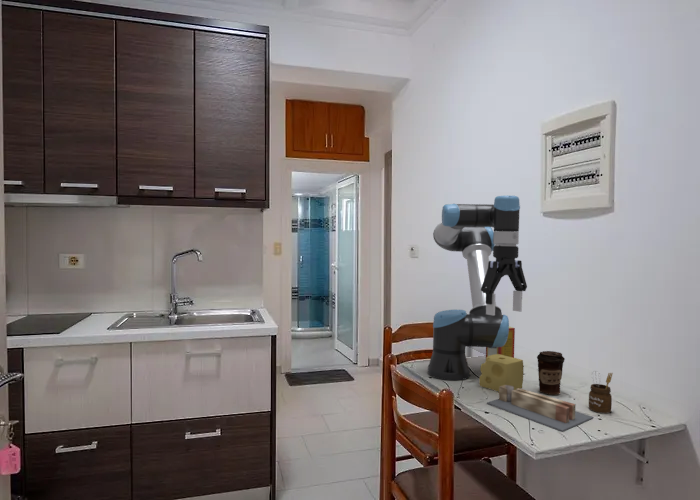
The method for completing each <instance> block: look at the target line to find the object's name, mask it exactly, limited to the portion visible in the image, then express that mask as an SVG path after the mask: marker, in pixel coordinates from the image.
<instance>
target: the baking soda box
mask: <svg viewBox="0 0 700 500" xmlns="http://www.w3.org/2000/svg"><path fill="white" fill-rule="evenodd" d="M515 333H516V329H515V327H513V326H510V325H509V332H508V338H507V341H506V343H505V345H504V346H502V347H493V348H491V347H485V358H486V357H488V356H490V355H494V354H501V355H504V356H508V357H513V358H515Z"/></svg>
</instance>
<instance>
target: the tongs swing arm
mask: <svg viewBox="0 0 700 500" xmlns="http://www.w3.org/2000/svg"><path fill="white" fill-rule="evenodd" d="M516 390H517V391H520V392H523V393H526V394H529V395H532V396H536V397H539V398H542V399H545V400H548V401H551V402H554V403H557V404H561V405H564V406H567V407H570V409H569V419H571V420H573V419H575V411H576V403H572V402H570V401H566V400H561V399H559V398H555V397H551V396H548V395H546V394H545V395H544V394H540V393H538V392H534V391H529V390H526V389H523V388H521V389H520V388H518V389H516Z"/></svg>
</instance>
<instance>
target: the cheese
mask: <svg viewBox="0 0 700 500" xmlns="http://www.w3.org/2000/svg"><path fill="white" fill-rule="evenodd" d="M479 371H480V372H481V374H480V375H479V380H478V381H479V382H478V384H479V387H481V388H486V389H489V390H492V391H496V392H497V391H498V392H497V393H499V387H500V386H503V385H510V386H513V387H514V390H516V389H518V388H520V389H523V385H524V360H523V359H520V358H517V357H514V358H513V357H508V356H504V355H501V354H494V355H490V356H488V357H486V356H485V361H484V363H481V365H480V370H479Z"/></svg>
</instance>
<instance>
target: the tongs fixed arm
mask: <svg viewBox="0 0 700 500" xmlns="http://www.w3.org/2000/svg"><path fill="white" fill-rule="evenodd" d="M498 399H499V400H502V401H505V402H511V404H513V405H516V406H518V407H521V408H524V409H527V410H530V411H533V412H535V413H538V414H541V415H544V416H547V417H550V418H552V419H555V420H558V421H561V422H564V423H568V422H569V409H570V407H567V406H564V405H561V404H557V403H554V402H551V401H548V400H545V399H542V398H539V397H536V396H532V395H529V394H526V393H523V392H520V391H517V390H514V387H513V386H510V385H503V386H500V387H499V392H498Z"/></svg>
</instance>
